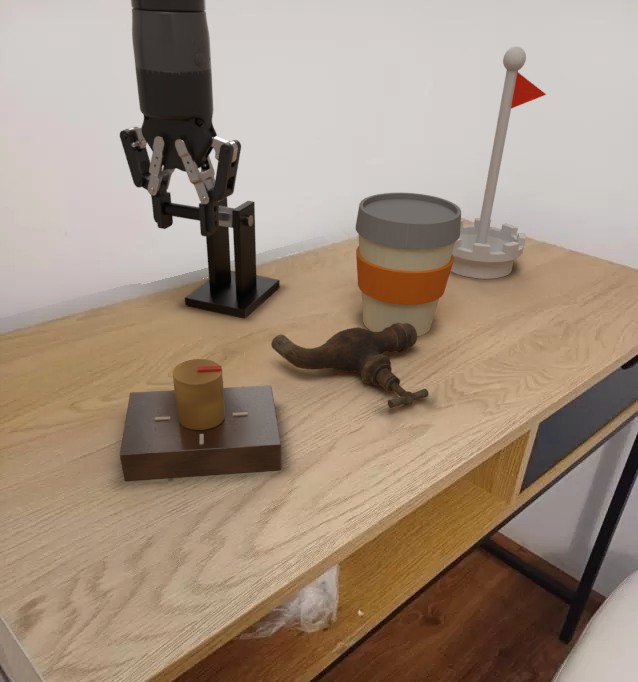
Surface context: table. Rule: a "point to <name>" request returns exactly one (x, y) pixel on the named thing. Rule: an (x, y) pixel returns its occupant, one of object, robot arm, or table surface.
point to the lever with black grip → (193, 213)
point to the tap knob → (199, 394)
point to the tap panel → (200, 437)
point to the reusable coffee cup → (404, 257)
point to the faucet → (358, 356)
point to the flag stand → (480, 239)
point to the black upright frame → (242, 284)
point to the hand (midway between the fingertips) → (186, 229)
